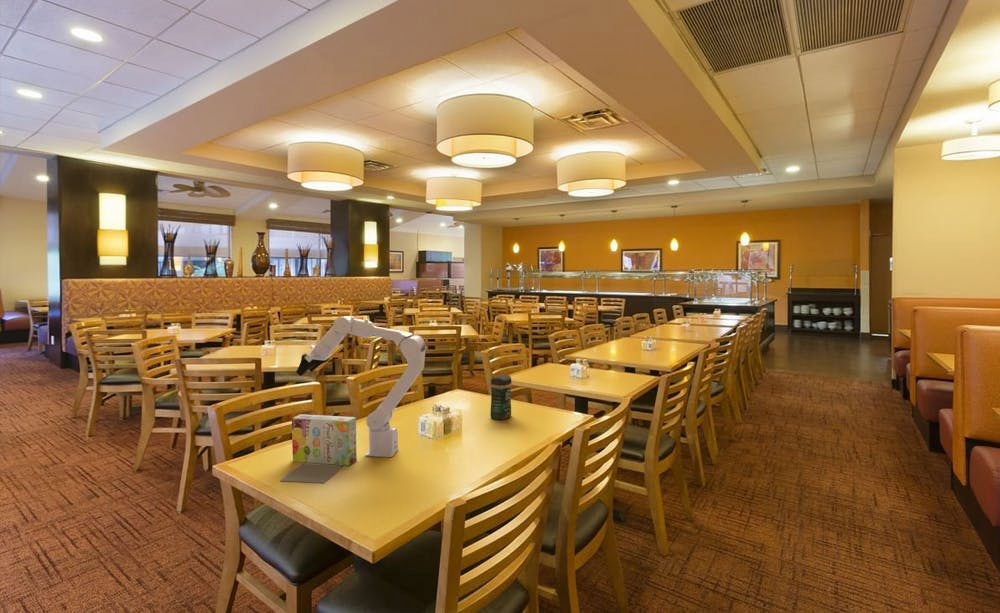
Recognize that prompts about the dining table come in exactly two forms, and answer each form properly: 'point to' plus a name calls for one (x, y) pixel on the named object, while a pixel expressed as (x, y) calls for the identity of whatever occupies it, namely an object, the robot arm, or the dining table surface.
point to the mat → (311, 473)
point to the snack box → (324, 439)
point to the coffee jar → (501, 397)
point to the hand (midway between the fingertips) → (304, 371)
